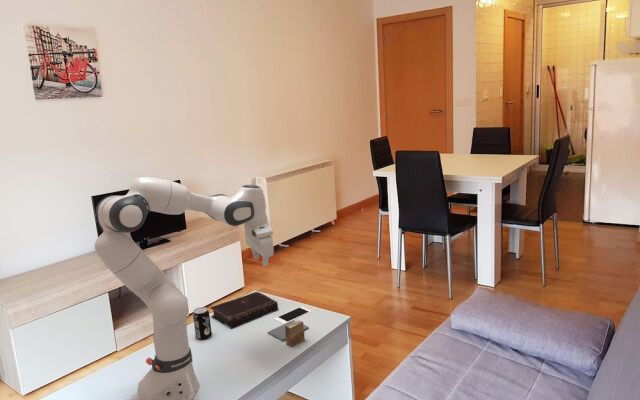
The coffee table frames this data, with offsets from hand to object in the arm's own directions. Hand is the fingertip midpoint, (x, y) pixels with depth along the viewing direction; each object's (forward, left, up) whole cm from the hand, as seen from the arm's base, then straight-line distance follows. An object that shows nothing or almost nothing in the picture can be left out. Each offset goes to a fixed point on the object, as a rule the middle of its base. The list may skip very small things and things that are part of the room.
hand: (260, 261), depth 194 cm
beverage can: (-13, +28, -36) cm, 47 cm away
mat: (+13, +4, -36) cm, 38 cm away
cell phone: (+24, +14, -36) cm, 45 cm away
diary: (+11, +33, -36) cm, 50 cm away
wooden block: (+9, -6, -36) cm, 37 cm away
